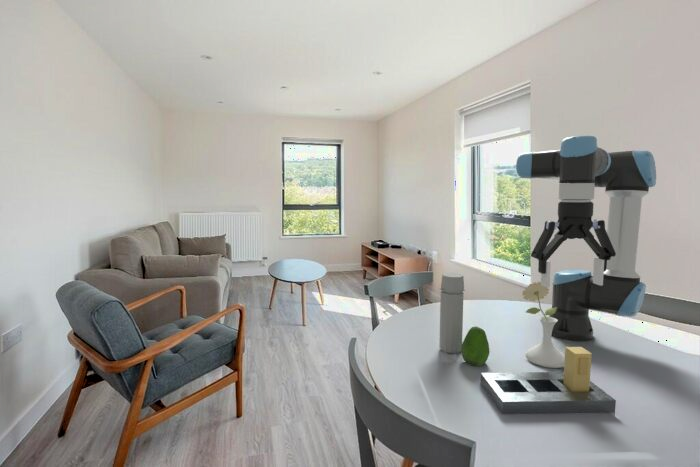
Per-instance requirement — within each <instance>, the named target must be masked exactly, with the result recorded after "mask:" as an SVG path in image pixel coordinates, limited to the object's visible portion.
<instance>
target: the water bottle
mask: <svg viewBox="0 0 700 467" xmlns="http://www.w3.org/2000/svg"><path fill="white" fill-rule="evenodd" d="M464 282H465V280H464V275H463V274H461V273H458V272H457V273H455V272H445V273H443V274H442V276H441V283H440V288H439V290H440V301H439V302H440V303H439V304H440V306H439V310H440V311H439V312H440V314H439V349H440V350H441V351H442V352H444V353H446V354H451V355H453V354H457V353H458V354H459V353H460V352H461V348H462V343H463V330H464V329H463V326H464V325H463V324H464V320H463V318H464V292H465V291H466V290H465V283H464Z"/></svg>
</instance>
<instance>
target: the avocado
mask: <svg viewBox="0 0 700 467" xmlns="http://www.w3.org/2000/svg"><path fill="white" fill-rule="evenodd" d="M460 352H461V357H462V360H463V361H464V362H465V363H466V364H468V365H470V366H473V367H480V366H483V365H484V364H486V363H487V360H489V356H490V352H491V351H490V344H489V340H488V338H487V334H486V331H485V330H484V329H483V328H481V327H479V326H472V327H470V329H469V330H468V331H467V333H466V334H465V337H464V339H463V340H462V348H461V351H460Z"/></svg>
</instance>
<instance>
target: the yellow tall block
mask: <svg viewBox="0 0 700 467" xmlns="http://www.w3.org/2000/svg"><path fill="white" fill-rule="evenodd" d="M592 354H593V353H592V352H591V351H589V350H587V349H585V348H584V347H582V346H565V349H564V356H565V363H564V367H563V372H564V380H563V385H564V386H565V387H566V388H567V389H568V390H569V391H571V392H589V386H590V381H591V367H592Z"/></svg>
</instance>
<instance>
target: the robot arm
mask: <svg viewBox="0 0 700 467" xmlns="http://www.w3.org/2000/svg"><path fill="white" fill-rule="evenodd" d="M597 141H598V140H597V137H596V136H594V135H577V136H570V137H565V138H563V139H562V141H561V144H560V149H555V150H542V151H529V152H528V151H527V152H521V153H520V154H519V155H518V157H517V159H516V164H515V165H516V166H515V168H516V169H515V170H516V173H517V176H518V177H519V178H521V179H549V180H559V181H558V182H559V184H558V199H559V200H560V201H559V202H558V203H557V218H558V220H557V221H552V220H546V221H544V228H543V231H542V232H541V234H540V236H539V238H538V240H537V242H536V244H535V246H534V248H533V250H532V251H531V253H530V256H531V257H532V258H534V259H536V260H538V271H537V272H538V273H539V274H541V275H540V282H541V285H543V286H545V287H548V288H550V285H551V284H550V283H551V281H550V280H551V261H550V260H549V259H550V258H551V256H552V255H553V254H554V253H555V251H556V250H558V248H559V247H560V246H561V245H562V244H563V243H564V242H565V241H567V240H575V239H580V240H582V239H583V240H584V241H585V243H586V244H587V245H588V246H589V248H590V250H592V252H594V254H595V255H596V257H594V258H593V270H592V271H593V273H592V272H591V271H590V270H585V269H567V270H566V269H565V270H560V271H557V272H555V273H554V275H553V282H552V294H551V295H552V300H551V308H555V307H557V310H556V312H555V313H554V314H552V315H548V317H552V318H555V319H557V320H558V321H557V322H556V323H555V325H554V327H553V330H552V336H553V337H556V338H559V339H563V340H568V341H569V340H570V341H575V342H576V341H577V342H578V341H579V342H581V341H584V342H585V341H589V340H592V339H594V329H593V326H592V323H591V319H590V316H589V314H590V312H589V311H590V310H591V311H596V312H602V313H608V314H611V315H612V314H613V315H617V316H618V317H619V316H623V317H629V318H632V317H634V316H636V315H637V314H638V313H639V311H640V310H641V307H642V306H643V302H644V298H645V294H646V284H645V283H644V282H642V281H641V276H640V275H639V273H638V272H637V271H636V263H637V262H636V261H637V254H638V243H639V242H638V241H639V233H640V232H639V231H640V222H641V210H642V201H643V200H642V199H643V197H645V196H646V195H647V194H649V190H650V188H652V187H655V186H656V183H657V182H656V181H657V170H656V168H657V167H656V162H655V161H656V160H655V158H654V155H653V153H652V152H651V151H649V150H635V149H634V150H626V151H614V152H608V151H606V150H605V149H604V148H601V147H598V142H597ZM595 188H605V189H604V193H606V195H607V196H609V205H608V214H607V215H608V217H607V228H606V223H605V220H603V219H597V218H595V219H594V220H593V219H592V218H593V216H594V202H593V201H592V200H594V199H595ZM592 228H593V230H594V233H595V235H594V234H593V233H592V232H591V229H592ZM557 229H558V231H556V233H555V234H554V232H555V230H557ZM553 235H554V237H553V238H552V236H553ZM595 236H596V238H597V240H598V241H597V240H596V239H595ZM551 238H552V239H551ZM550 240H551V241H550Z"/></svg>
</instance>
